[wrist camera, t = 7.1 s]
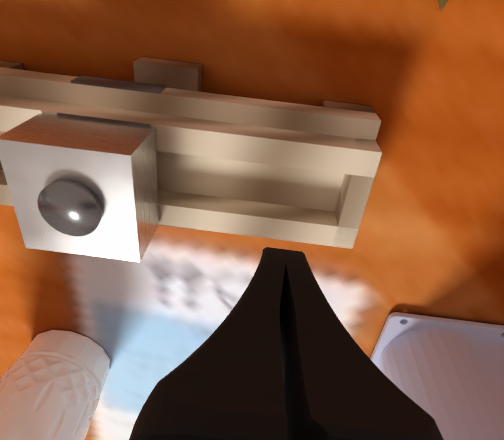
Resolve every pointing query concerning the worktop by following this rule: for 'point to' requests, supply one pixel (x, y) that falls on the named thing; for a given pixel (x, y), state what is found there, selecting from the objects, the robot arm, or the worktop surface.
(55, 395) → the white cup
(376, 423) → the robot arm
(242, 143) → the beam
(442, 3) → the green leafy spiky piece
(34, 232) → the block
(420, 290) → the worktop surface
